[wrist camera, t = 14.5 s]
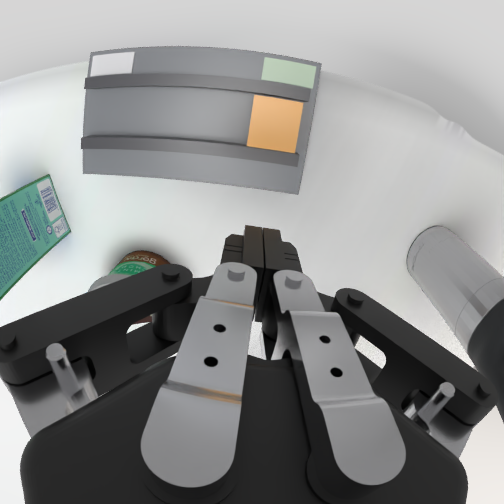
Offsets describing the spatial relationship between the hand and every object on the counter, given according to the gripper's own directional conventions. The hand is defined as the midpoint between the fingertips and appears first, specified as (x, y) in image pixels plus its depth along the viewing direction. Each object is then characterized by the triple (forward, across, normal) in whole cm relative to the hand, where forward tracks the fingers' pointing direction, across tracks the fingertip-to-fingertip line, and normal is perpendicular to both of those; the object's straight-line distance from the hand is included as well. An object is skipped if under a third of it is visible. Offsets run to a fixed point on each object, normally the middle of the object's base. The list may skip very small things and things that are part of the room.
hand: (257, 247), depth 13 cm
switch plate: (+22, +8, -5) cm, 23 cm away
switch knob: (+17, -1, -5) cm, 18 cm away
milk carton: (+21, +30, +9) cm, 38 cm away
